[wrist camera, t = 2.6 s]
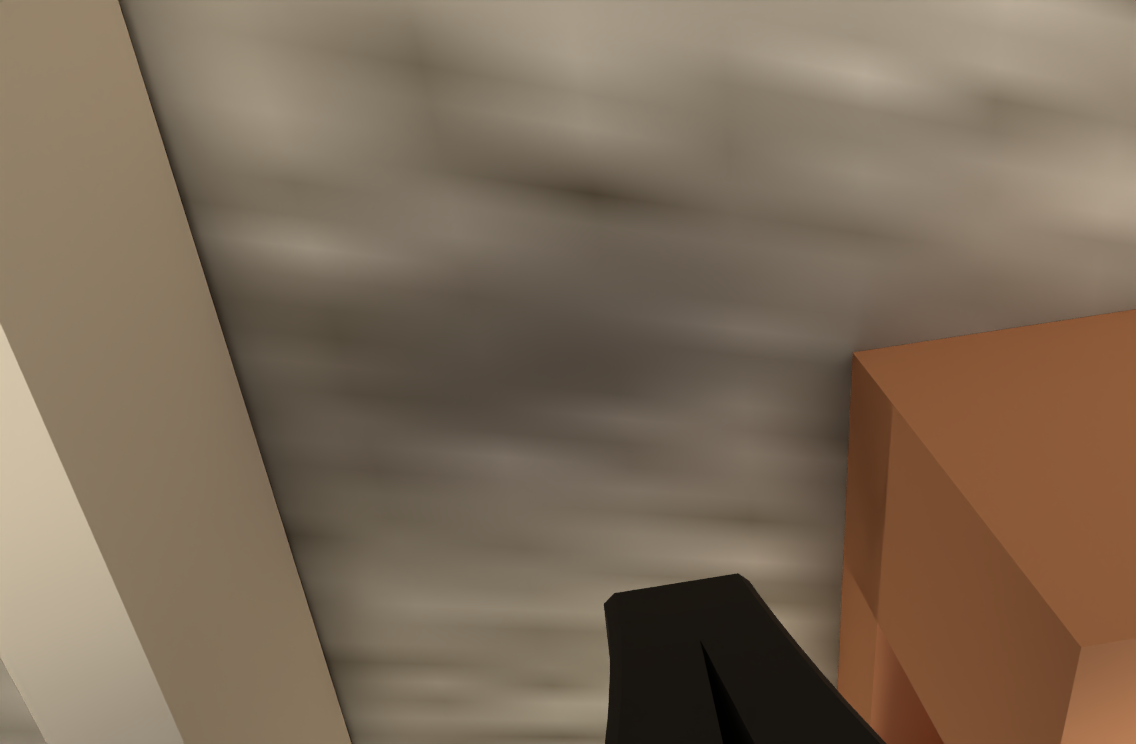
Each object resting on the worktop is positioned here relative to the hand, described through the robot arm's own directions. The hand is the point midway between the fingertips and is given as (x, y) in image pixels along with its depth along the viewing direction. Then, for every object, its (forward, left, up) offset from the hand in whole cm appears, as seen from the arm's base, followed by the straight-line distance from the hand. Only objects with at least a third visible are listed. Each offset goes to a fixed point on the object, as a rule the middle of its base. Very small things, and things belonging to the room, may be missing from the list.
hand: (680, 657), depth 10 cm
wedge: (-6, -6, -5) cm, 10 cm away
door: (-1, +6, -5) cm, 7 cm away
